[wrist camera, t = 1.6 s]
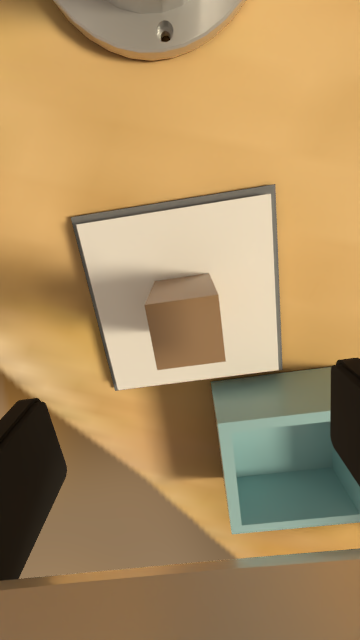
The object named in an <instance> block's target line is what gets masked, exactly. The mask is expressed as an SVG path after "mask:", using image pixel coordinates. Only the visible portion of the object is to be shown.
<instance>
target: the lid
mask: <svg viewBox="0 0 360 640" xmlns="http://www.w3.org/2000/svg"><path fill="white" fill-rule="evenodd" d="M76 226H77V230H78V234H79V238H80V242H81V246H82V250H83V254H84V258H85V262H86V266H87V270H88V274H89V278H90V282H91V286H92V290H93V293H94V297H95V301H96V305H97V309H98V313H99V317H100V321H101V325H102V329H103V333H104V337H105V341H106V345H107V349H108V353H109V357H110V361H111V365H112V369H113V373H114V376H115V380H116V384H117V388H118V390H123V389H131V388H139V387H147V386H155V385H163V384H171V383H179V382H187V381H195V380H203V379H211V378H219V377H227V376H235V375H243V374H251V373H259V372H267V371H275V370H279V365H278V342H277V319H276V297H275V274H274V251H273V228H272V206H271V194H265V195H259V196H253V197H246V198H240V199H234V200H227V201H221V202H215V203H209V204H202V205H196V206H190V207H184V208H177V209H171V210H165V211H159V212H152V213H146V214H140V215H134V216H127V217H121V218H115V219H109V220H102V221H96V222H90V223H84V224H77V225H76Z"/></svg>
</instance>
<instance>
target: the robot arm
mask: <svg viewBox="0 0 360 640" xmlns="http://www.w3.org/2000/svg"><path fill="white" fill-rule="evenodd" d="M53 1H54V3H55V4H56V5H57V6H58V8H59V9H60V10H61V11H62V13H63V14H64V15H65V17H66V18H67V19H68V20H69V22H71V23H72V24H73V25H74V26H75V27H76V28H77V29H78V30H79V31H81V32H82V33H83V34H84V35H85V36H86V37H87V38H88V39H90V40H92V41H93V42H95V43H96V44H98V45H100V46H101V47H103V48H105V49H106V50H108V51H110V52H113V53H116V54H119V55H122V56H125V57H128V58H132V59H141V60H151V61H153V60H161V59H168V58H174V57H177V56H180V55H182V54H185V53H188V52H190V51H193V50H195V49H197V48H198V47H200V46H201V45H203V44H204V43H206V42H208V41H209V40H211V39H212V38H214V37H215V36H216V35H217V34H218V33H219V32H220V31H221V30H222V29H223V28H224V27H225V26H226V25H227V24H228V23H229V22H230V21H231V20H232V19H233V18H234V17H235V15H236V14H237V12H238V11H239V10H240V8H241V7H242V5H243V4H244V3H245V1H246V0H53ZM164 36H168V37H169V38H170V40H169V41H168V42H162V41H161V39H162V37H164ZM330 438H331V442H332V445H333V447H334V449H335V450H336V452H337V453H338V455H339V456H340V458H341V459H342V461H343V462H344V464H345V465H346V467H347V468H348V470H349V471H350V473H351V474H352V476H353V477H354V479H355V480H356V482H357V483H358V485H359V486H360V359H359V358H351V359H343V360H338V361H337V363H336V365H333V366H332V367H331V409H330ZM66 473H67V467H66V463H65V460H64V457H63V454H62V451H61V448H60V445H59V442H58V439H57V436H56V433H55V430H54V427H53V424H52V421H51V418H50V415H49V412H48V409H47V406H46V404H45V403H44V402H41V401H40V400H39V399H38V398H33V399H26V400H19V401H18V402H16V404H15V405H14V406H13V407H12V408H11V409H10V410H9V411H8V412H7V413H6V414H5V415H4V416H3V417H2V419H1V420H0V640H360V549H349V550H337V551H325V552H313V553H301V554H289V555H277V556H265V557H253V558H241V559H230V560H221V561H220V560H219V561H208V562H196V563H186V564H174V565H163V566H152V567H141V568H130V569H119V570H109V571H97V572H87V573H77V574H66V575H55V576H45V577H35V578H24V579H19V576H20V574H21V572H22V570H23V568H24V566H25V564H26V561H27V559H28V557H29V555H30V553H31V550H32V549H33V546H34V544H35V542H36V540H37V538H38V536H39V533H40V531H41V529H42V527H43V525H44V523H45V521H46V518H47V516H48V514H49V512H50V510H51V508H52V505H53V503H54V501H55V499H56V497H57V495H58V493H59V490H60V488H61V486H62V484H63V482H64V480H65V477H66Z"/></svg>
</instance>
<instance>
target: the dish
mask: <svg viewBox="0 0 360 640" xmlns="http://www.w3.org/2000/svg"><path fill="white" fill-rule="evenodd" d="M211 388H212V396H213V404H214V411H215V419H216V426H217V434H218V442H219V449H220V457H221V464H222V472H223V479H224V486H225V492H226V499H227V506H228V512H229V519H230V525H231V532H232V534H240V533H250V532H261V531H272V530H283V529H293V528H304V527H315V526H325V525H336V524H347V523H358V522H360V486H359V485H358V483H357V482H356V480H355V479H354V477H353V476H352V474H351V473H350V471H349V470H348V468H347V467H346V465H345V464H344V462H343V461H342V459H341V458H340V456H339V455H338V453H337V452H336V450H335V449H334V447H333V445H332V442H331V438H330V409H331V367H325V368H317V369H309V370H301V371H293V372H285V373H277V374H269V375H261V376H253V377H244V378H236V379H228V380H220V381H212V382H211Z"/></svg>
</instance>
